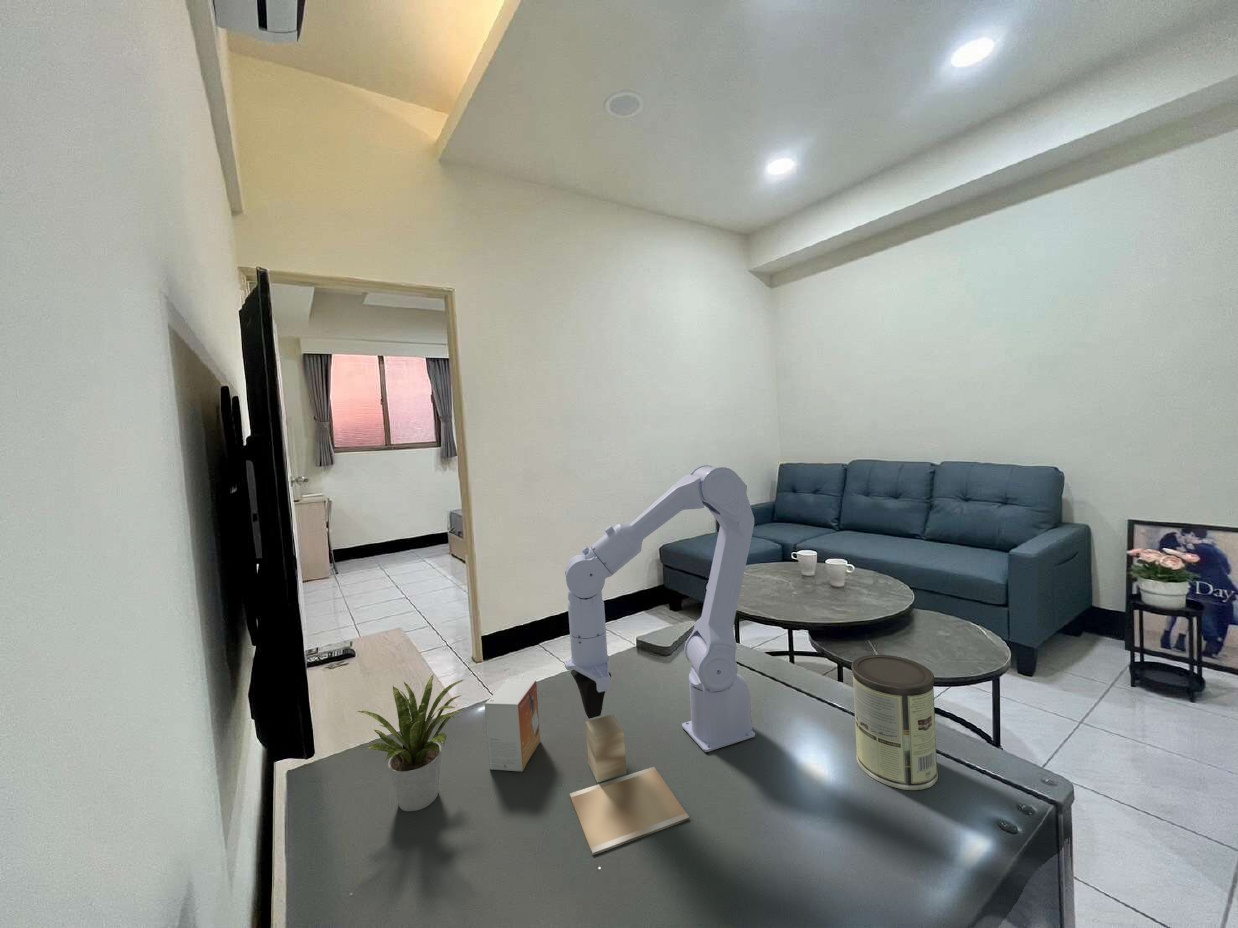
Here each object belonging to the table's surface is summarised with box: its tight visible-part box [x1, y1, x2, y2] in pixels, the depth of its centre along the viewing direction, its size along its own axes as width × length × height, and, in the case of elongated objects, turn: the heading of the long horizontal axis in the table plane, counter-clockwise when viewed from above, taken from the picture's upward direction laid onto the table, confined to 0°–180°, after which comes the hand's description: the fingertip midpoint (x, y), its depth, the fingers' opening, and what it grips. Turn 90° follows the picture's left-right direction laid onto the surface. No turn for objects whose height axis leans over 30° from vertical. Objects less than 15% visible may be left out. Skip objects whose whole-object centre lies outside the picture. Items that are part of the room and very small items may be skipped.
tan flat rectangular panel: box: [569, 766, 690, 856], centre depth 65 cm, size 13×11×1 cm
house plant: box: [356, 674, 466, 812], centre depth 69 cm, size 14×14×16 cm
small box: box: [484, 678, 541, 772], centre depth 77 cm, size 8×6×10 cm
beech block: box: [585, 714, 628, 785], centre depth 72 cm, size 4×4×7 cm
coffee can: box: [850, 654, 939, 791], centre depth 69 cm, size 10×10×14 cm
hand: (593, 715), depth 78 cm, fingers closed
